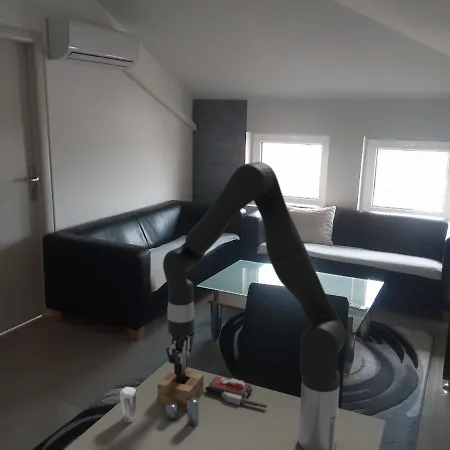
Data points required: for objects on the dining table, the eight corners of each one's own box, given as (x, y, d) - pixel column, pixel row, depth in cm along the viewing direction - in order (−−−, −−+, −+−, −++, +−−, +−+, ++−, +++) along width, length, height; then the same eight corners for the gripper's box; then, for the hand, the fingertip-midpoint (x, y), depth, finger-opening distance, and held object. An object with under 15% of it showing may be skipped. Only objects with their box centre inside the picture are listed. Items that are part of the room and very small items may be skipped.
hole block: (203, 392, 146) (203, 374, 145) (189, 410, 137) (189, 391, 136) (173, 385, 150) (173, 367, 149) (157, 402, 141) (157, 384, 139)
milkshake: (131, 427, 129) (130, 393, 127) (116, 420, 132) (115, 387, 130) (143, 418, 133) (142, 385, 131) (128, 412, 136) (127, 380, 134)
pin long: (187, 380, 143) (187, 343, 141) (183, 386, 141) (183, 347, 138) (178, 378, 144) (178, 341, 142) (173, 383, 142) (173, 345, 139)
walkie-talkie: (201, 396, 145) (265, 413, 137) (201, 383, 144) (266, 399, 136) (213, 382, 153) (274, 397, 145) (213, 369, 152) (275, 384, 144)
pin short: (178, 416, 135) (178, 403, 134) (173, 422, 132) (173, 409, 131) (169, 414, 136) (168, 401, 135) (163, 420, 133) (163, 407, 132)
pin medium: (200, 422, 132) (200, 399, 131) (195, 428, 130) (195, 404, 128) (190, 419, 133) (190, 396, 132) (185, 425, 131) (185, 402, 129)
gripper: (181, 327, 130) (181, 386, 134) (203, 309, 143) (202, 362, 147) (157, 323, 133) (157, 380, 137) (180, 305, 146) (180, 358, 149)
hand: (180, 371), depth 142 cm, fingers closed on pin long, 3 cm apart
